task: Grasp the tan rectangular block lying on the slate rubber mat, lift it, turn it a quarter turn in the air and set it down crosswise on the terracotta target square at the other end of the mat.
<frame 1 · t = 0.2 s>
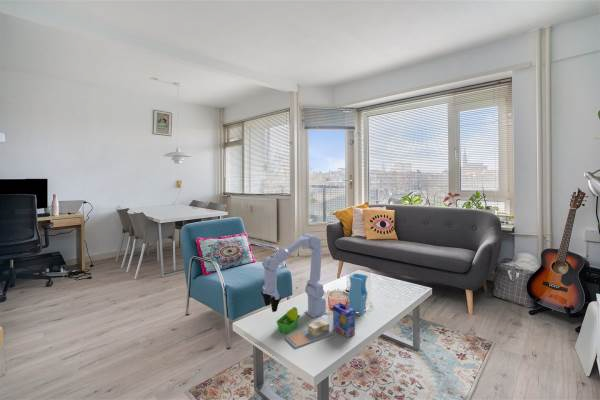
hand: (270, 308, 144), 10 cm above the table, fingers open, 7 cm apart
fruit basket: (289, 329, 144), on the table
vase: (357, 311, 162), on the table
mat: (309, 336, 137), on the table
ink cartridge box: (343, 332, 141), on the table
tan rectangular block: (318, 332, 140), resting on mat
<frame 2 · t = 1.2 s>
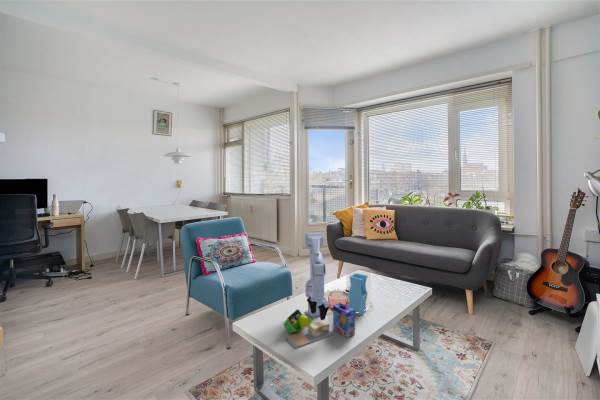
hand: (318, 316, 139), 8 cm above the table, fingers open, 7 cm apart
fruit basket: (290, 325, 144), point 2 cm above the table, touching tan rectangular block
tan rectangular block: (318, 332, 140), resting on mat, touching fruit basket
everything else where it was.
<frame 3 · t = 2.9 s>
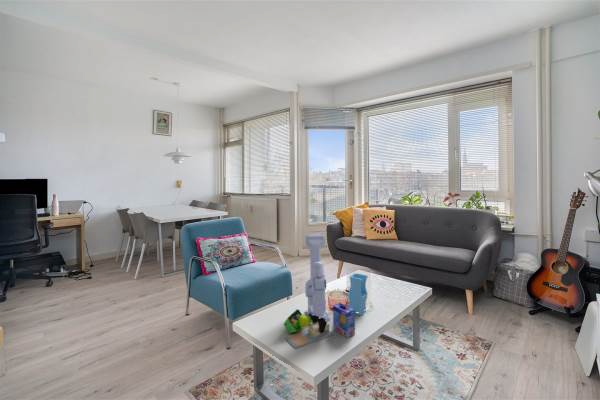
hand: (318, 330, 140), 2 cm above the table, fingers closed on tan rectangular block, 4 cm apart
tan rectangular block: (318, 332, 140), point 1 cm above the table, touching fruit basket, gripper, mat
everything else where it was.
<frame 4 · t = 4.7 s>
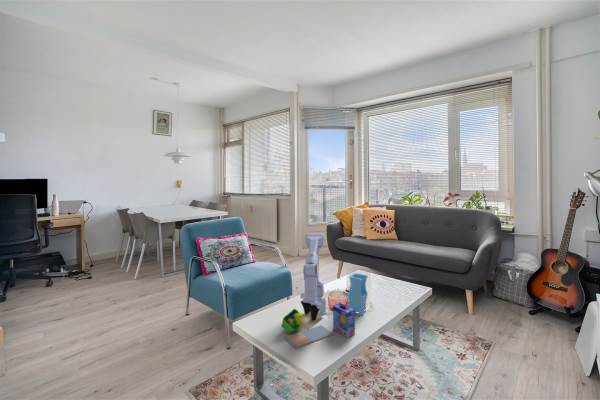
hand: (310, 317, 136), 9 cm above the table, fingers closed on tan rectangular block, 4 cm apart
fruit basket: (290, 326, 144), point 1 cm above the table, touching tan rectangular block, gripper
tan rectangular block: (312, 322, 137), point 7 cm above the table, tilted 19°, touching fruit basket, gripper
everything else where it was.
when the fingers open (9 cm above the table, at t = 5.4 s): tan rectangular block stays where it is, resting on fruit basket.
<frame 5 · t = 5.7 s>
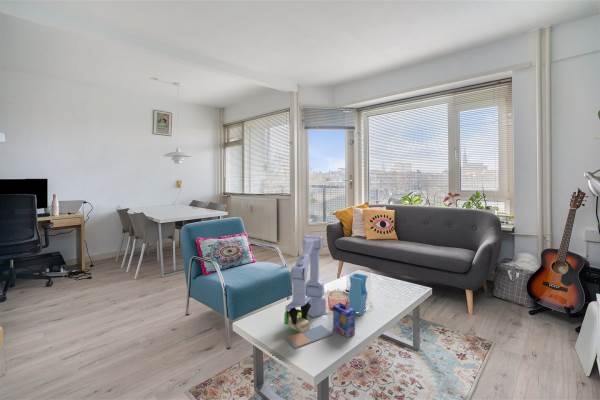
hand: (299, 321, 133), 9 cm above the table, fingers open, 5 cm apart
fruit basket: (292, 322, 145), point 3 cm above the table, touching tan rectangular block, gripper
tan rectangular block: (298, 328, 133), point 6 cm above the table, touching fruit basket, gripper
everything else where it was.
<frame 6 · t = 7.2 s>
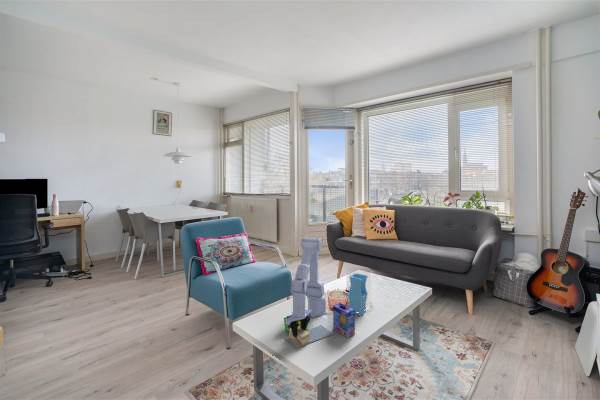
hand: (299, 334, 134), 3 cm above the table, fingers open, 4 cm apart
fruit basket: (291, 322, 146), point 2 cm above the table, touching tan rectangular block, gripper, mat
tan rectangular block: (299, 339, 134), point 1 cm above the table, touching fruit basket, gripper, mat
everything else where it was.
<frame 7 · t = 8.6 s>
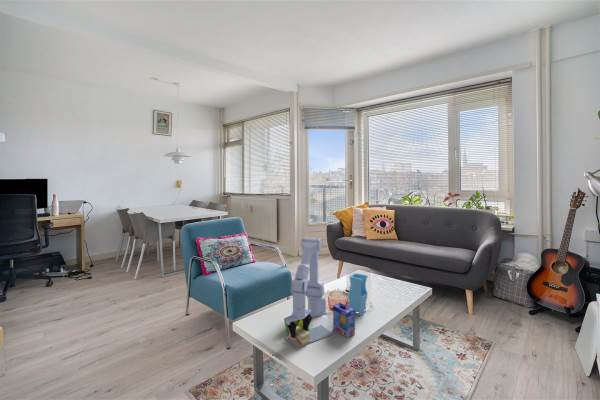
hand: (299, 334, 134), 3 cm above the table, fingers open, 7 cm apart
fruit basket: (291, 322, 146), point 2 cm above the table, touching gripper, mat
tan rectangular block: (299, 339, 134), point 1 cm above the table, touching mat
everything else where it was.
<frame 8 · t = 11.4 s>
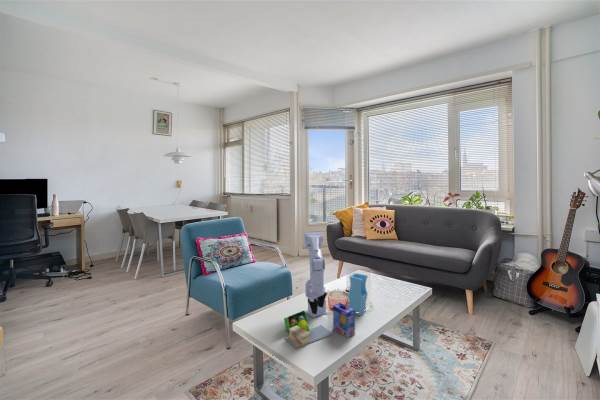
hand: (317, 310, 143), 9 cm above the table, fingers open, 7 cm apart
fruit basket: (291, 322, 146), point 2 cm above the table, touching mat
everything else where it was.
at the end: tan rectangular block 0.1 cm from the target spot on the mat, point 0.6 cm above the mat's base; tan rectangular block tilted 0°; the gripper is holding nothing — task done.
